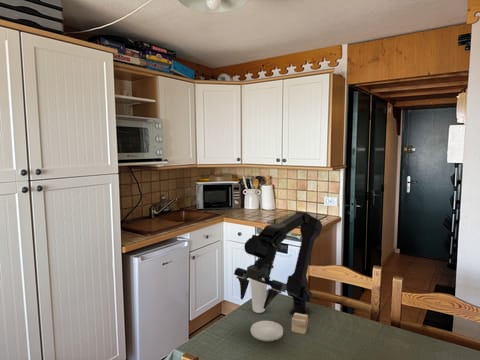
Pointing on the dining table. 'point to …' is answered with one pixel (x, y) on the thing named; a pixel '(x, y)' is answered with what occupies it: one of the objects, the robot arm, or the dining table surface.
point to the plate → (266, 330)
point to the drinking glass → (258, 295)
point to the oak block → (299, 323)
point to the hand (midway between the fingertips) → (252, 303)
